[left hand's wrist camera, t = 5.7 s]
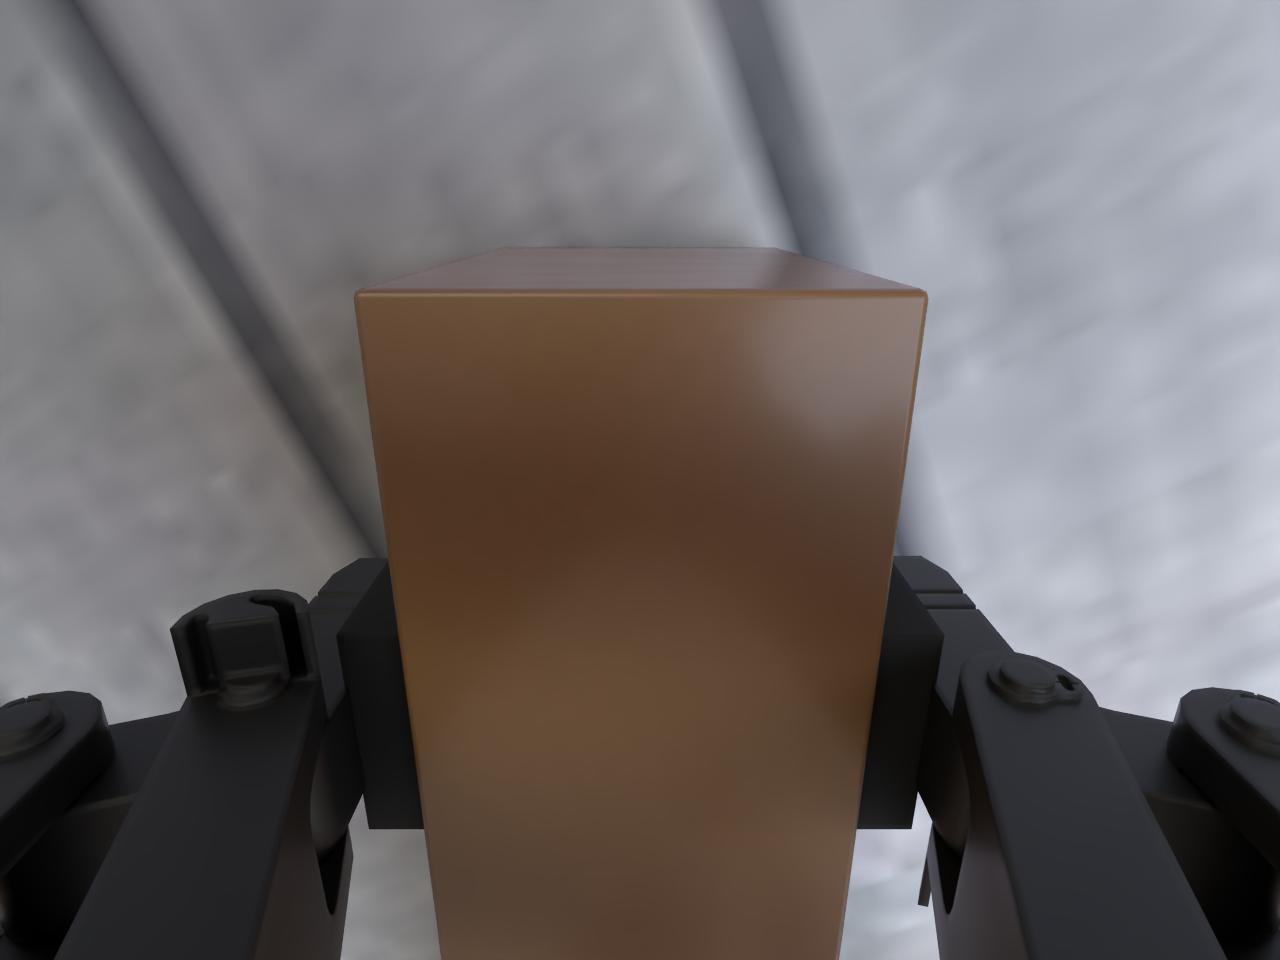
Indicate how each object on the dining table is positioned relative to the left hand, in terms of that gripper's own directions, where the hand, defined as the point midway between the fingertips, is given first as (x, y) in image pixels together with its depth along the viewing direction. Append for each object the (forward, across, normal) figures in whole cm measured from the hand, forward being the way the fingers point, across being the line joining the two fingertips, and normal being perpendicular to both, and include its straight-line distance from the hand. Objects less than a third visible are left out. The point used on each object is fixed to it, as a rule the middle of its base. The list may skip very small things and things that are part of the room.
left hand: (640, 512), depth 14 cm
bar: (0, 0, -21) cm, 21 cm away
